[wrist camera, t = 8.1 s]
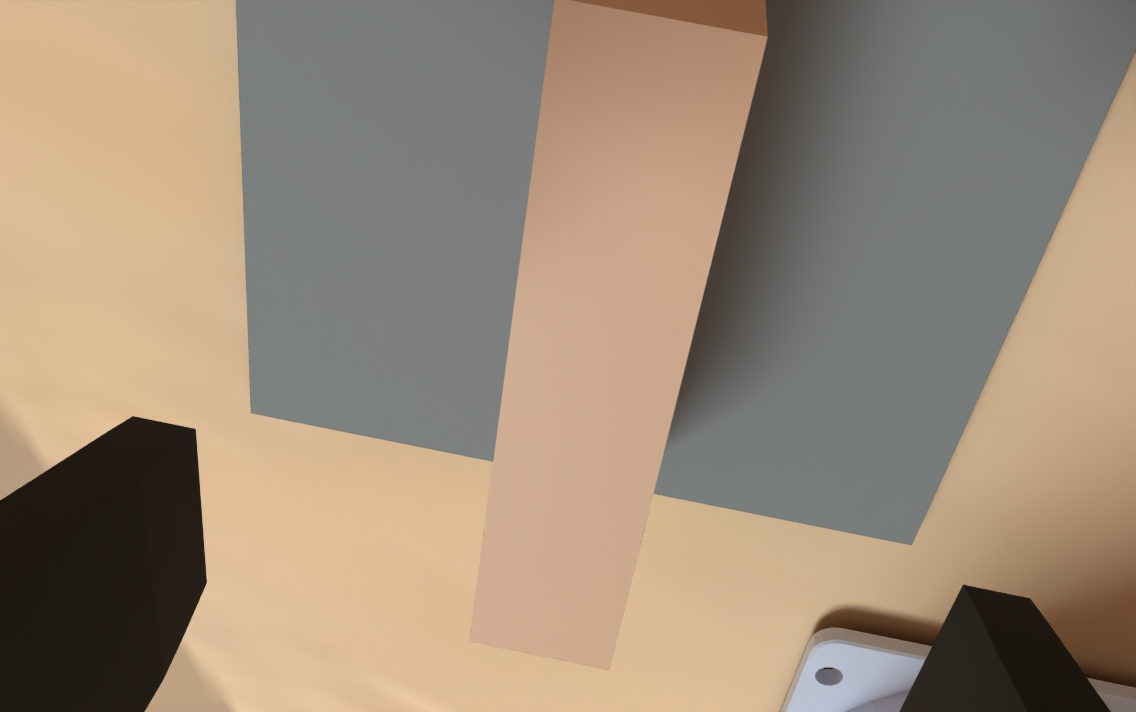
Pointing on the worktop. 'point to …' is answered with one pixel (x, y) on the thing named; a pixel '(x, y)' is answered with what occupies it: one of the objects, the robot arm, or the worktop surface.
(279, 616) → the worktop surface
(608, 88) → the dusty pink block
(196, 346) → the worktop surface
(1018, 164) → the slate mat
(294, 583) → the worktop surface
